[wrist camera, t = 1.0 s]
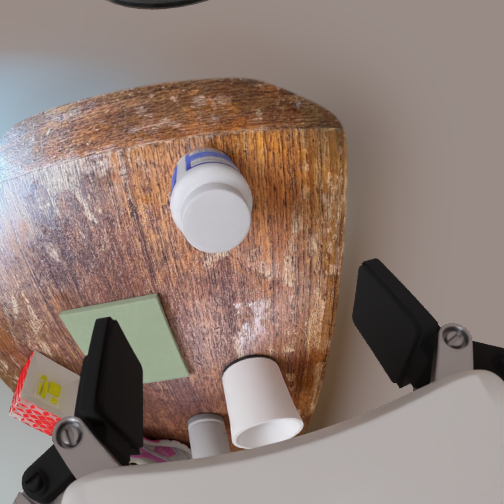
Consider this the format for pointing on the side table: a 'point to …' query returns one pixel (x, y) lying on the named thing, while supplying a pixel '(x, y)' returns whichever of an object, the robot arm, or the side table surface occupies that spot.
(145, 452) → the running shoe
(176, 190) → the pill bottle
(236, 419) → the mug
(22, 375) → the red patterned cube box
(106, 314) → the mat
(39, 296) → the side table surface
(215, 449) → the travel mug
